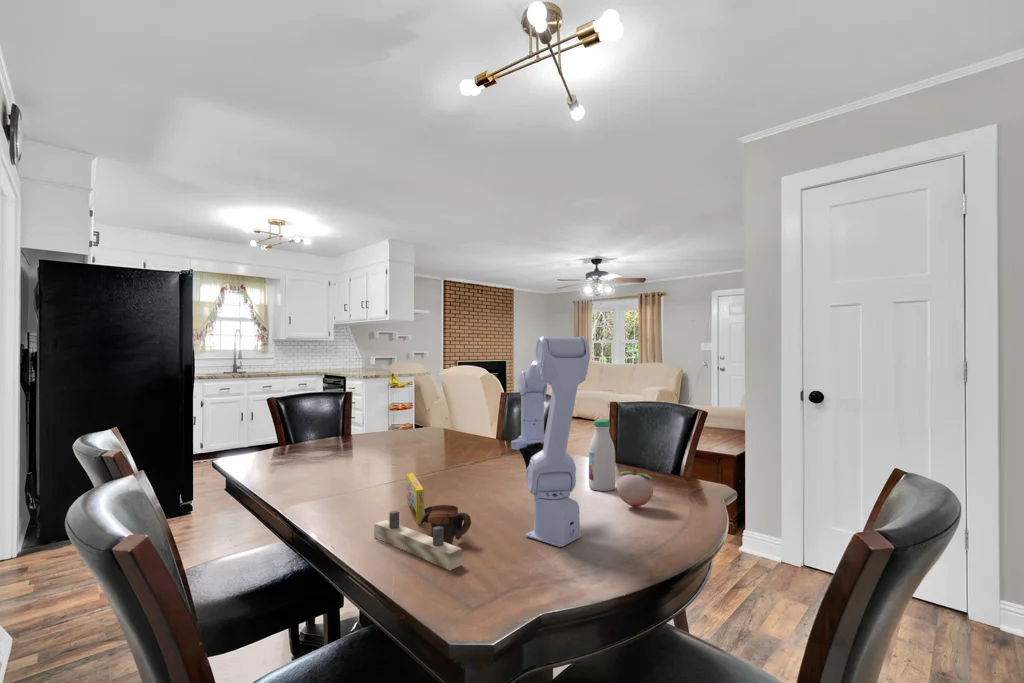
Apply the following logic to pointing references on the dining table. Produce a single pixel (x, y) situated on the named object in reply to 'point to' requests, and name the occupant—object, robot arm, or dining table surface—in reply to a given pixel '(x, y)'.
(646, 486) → the decorative fruit
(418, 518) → the candy box
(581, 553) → the dining table surface
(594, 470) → the milk bottle
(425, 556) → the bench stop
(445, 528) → the pottery mug
